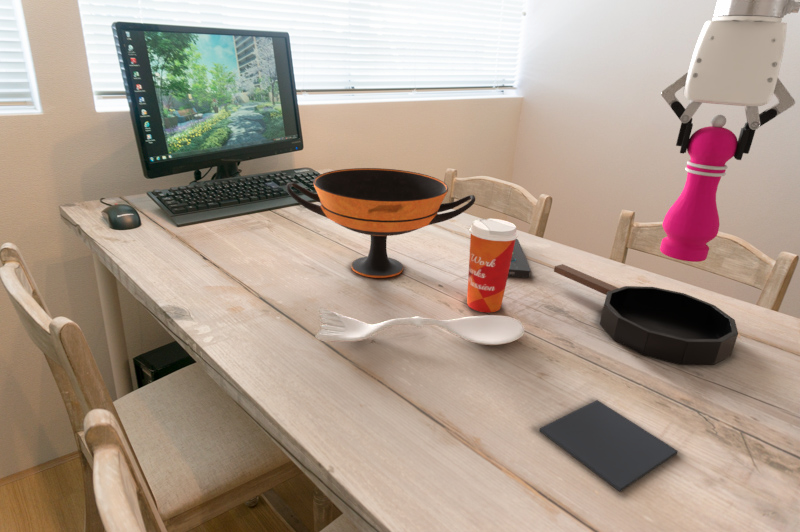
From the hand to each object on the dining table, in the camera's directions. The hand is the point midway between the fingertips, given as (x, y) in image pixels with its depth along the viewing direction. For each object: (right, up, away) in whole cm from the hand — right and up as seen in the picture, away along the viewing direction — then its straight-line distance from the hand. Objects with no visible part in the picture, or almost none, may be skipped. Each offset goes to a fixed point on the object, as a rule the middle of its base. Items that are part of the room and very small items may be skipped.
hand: (709, 154), depth 73 cm
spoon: (-39, -27, +9) cm, 49 cm away
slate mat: (-18, -36, -11) cm, 42 cm away
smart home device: (-20, -14, +44) cm, 50 cm away
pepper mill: (-1, -14, +6) cm, 15 cm away
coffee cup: (-28, -23, +21) cm, 42 cm away
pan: (-2, -24, +21) cm, 32 cm away
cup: (-47, -16, +34) cm, 61 cm away
